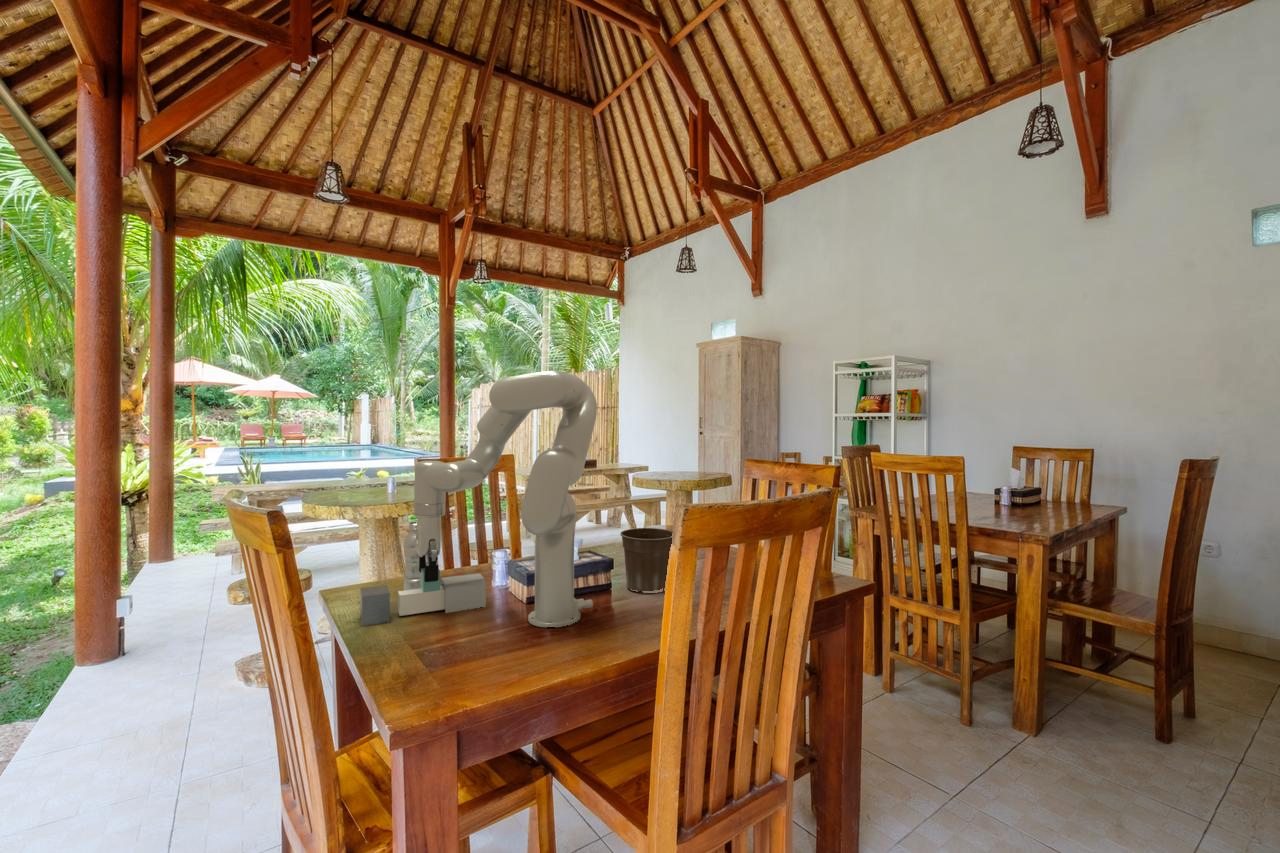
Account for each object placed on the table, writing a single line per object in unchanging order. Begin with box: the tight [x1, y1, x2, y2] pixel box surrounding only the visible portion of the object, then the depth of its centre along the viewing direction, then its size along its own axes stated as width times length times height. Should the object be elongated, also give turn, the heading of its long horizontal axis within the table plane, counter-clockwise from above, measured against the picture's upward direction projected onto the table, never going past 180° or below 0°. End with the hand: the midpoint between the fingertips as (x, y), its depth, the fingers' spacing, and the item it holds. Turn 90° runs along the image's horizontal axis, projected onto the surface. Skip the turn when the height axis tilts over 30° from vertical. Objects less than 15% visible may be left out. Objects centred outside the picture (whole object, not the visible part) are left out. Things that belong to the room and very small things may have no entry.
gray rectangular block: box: [440, 572, 487, 614], centre depth 150 cm, size 10×7×7 cm
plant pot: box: [620, 527, 674, 593], centre depth 166 cm, size 16×16×16 cm
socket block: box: [359, 584, 391, 627], centre depth 140 cm, size 6×8×7 cm
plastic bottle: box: [403, 521, 421, 591], centre depth 160 cm, size 6×7×20 cm
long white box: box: [397, 569, 445, 617], centre depth 147 cm, size 20×4×10 cm, turn 118°
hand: (428, 576), depth 146 cm, fingers open, 9 cm apart
